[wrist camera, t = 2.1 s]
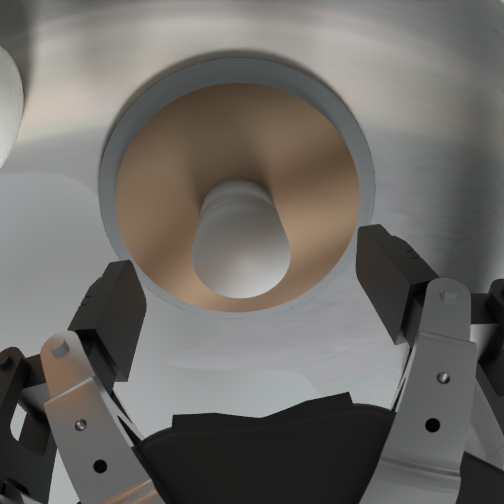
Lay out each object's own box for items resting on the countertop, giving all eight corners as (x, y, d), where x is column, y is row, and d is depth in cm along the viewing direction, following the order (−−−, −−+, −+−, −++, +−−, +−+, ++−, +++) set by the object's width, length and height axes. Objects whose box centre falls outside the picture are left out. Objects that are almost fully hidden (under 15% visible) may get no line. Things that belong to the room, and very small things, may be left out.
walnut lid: (388, 223, 19) (437, 271, 13) (225, 333, 22) (225, 399, 17) (258, 35, 13) (274, 3, 8) (79, 197, 16) (28, 241, 11)
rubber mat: (409, 222, 19) (413, 226, 19) (223, 346, 24) (223, 352, 23) (262, 4, 12) (263, 1, 12) (56, 194, 17) (52, 197, 16)
